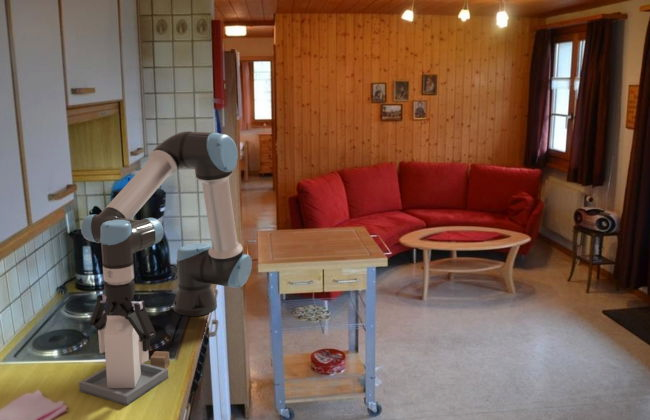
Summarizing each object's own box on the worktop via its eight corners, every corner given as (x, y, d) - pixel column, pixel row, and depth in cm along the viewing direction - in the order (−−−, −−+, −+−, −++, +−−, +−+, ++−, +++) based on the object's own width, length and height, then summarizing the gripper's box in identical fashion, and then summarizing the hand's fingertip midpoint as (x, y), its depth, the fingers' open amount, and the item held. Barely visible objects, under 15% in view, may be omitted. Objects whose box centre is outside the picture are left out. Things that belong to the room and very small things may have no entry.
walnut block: (155, 364, 174) (155, 351, 173) (169, 364, 174) (169, 351, 173) (151, 370, 170) (150, 357, 170) (165, 371, 170) (164, 358, 169)
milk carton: (114, 375, 166) (110, 310, 161) (141, 375, 166) (137, 310, 162) (107, 388, 159) (102, 320, 154) (134, 388, 159) (131, 320, 155)
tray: (123, 365, 173) (122, 357, 172) (168, 377, 166) (168, 369, 166) (79, 391, 158) (78, 382, 158) (127, 405, 152) (126, 396, 151)
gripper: (71, 277, 158) (77, 352, 162) (147, 292, 148) (152, 372, 152) (93, 269, 164) (98, 341, 169) (167, 283, 154) (171, 359, 159)
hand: (124, 356), depth 161 cm, fingers open, 13 cm apart
